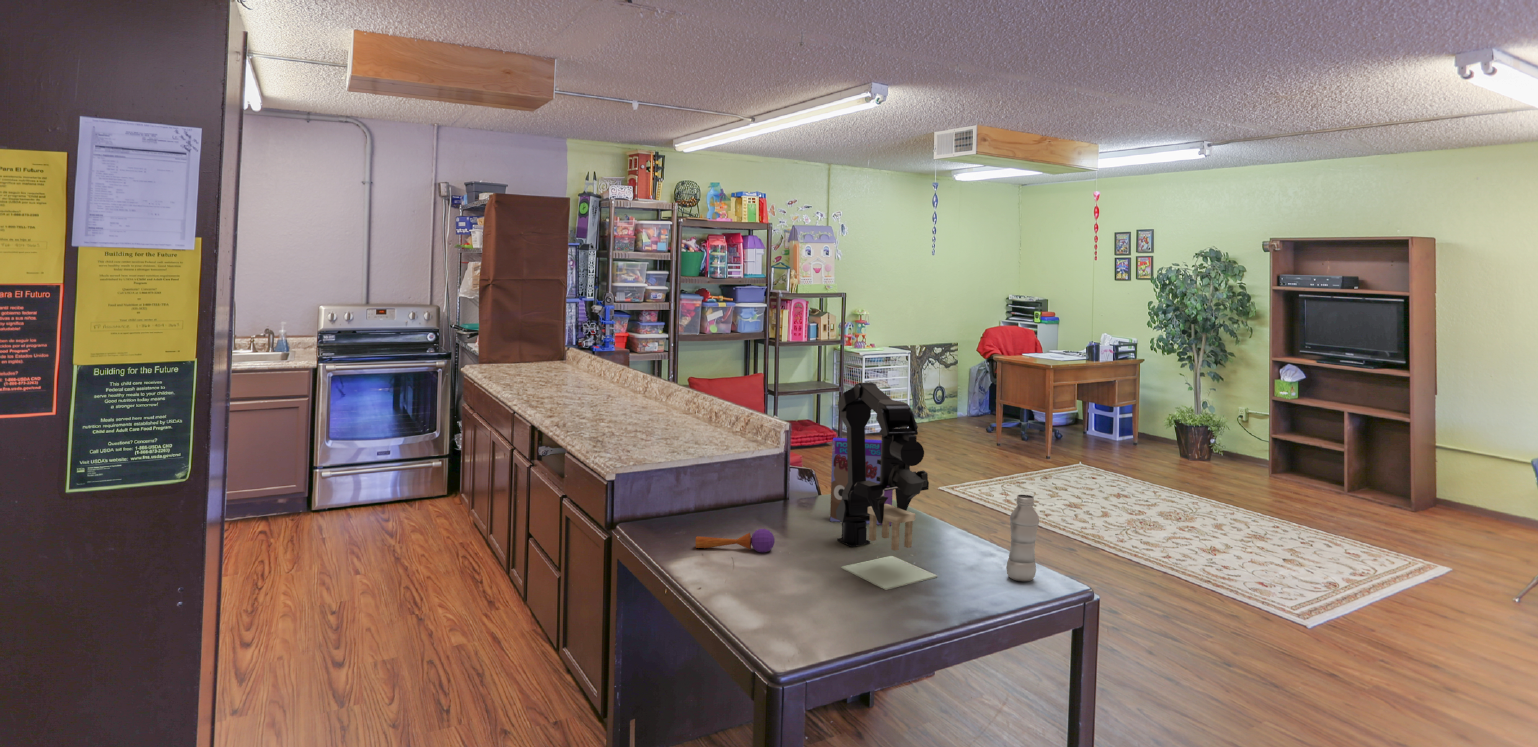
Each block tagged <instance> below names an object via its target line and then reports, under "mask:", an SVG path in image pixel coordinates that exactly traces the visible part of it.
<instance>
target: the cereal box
mask: <svg viewBox="0 0 1538 747" xmlns="http://www.w3.org/2000/svg"><path fill="white" fill-rule="evenodd" d="M881 441H882V439H866V438H865V456H866V481H867V480H869V481H872V482H875V483H878V484H879V483H880V482H879V481H876V479H877V476H880V467H881V465H880V464H877V459H881ZM847 483H848V461H847V437H833V439H832V444H831V481H830V510H829V513H830V514H829V522H830V523H840V522H841V521H840V520H838V519H837V516H836V509H837V507H838V506H839V504H840V502H841V500H842V492H843V490H844V489H845V487H846V485H847ZM887 487H888V486H887ZM893 494H894V493H893V490H888V491H884V496H885V497H888V499H887V500H886V502H885V503H884V504H889V505H892V506H893ZM866 525H869V526H870V521H866ZM877 526H882V524H880V523H878V521H877ZM889 527H892V522H889Z"/></svg>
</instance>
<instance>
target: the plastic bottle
mask: <svg viewBox="0 0 1538 747" xmlns="http://www.w3.org/2000/svg"><path fill="white" fill-rule="evenodd" d="M1034 499H1035V498H1034V496H1033V495H1031V494H1024V493H1023V494H1022V493H1021V494H1017V495H1016V501H1015V503H1016V505H1017V506H1016V507H1015V508H1014V509H1013V510H1012V511H1011V513H1010V515H1009V525H1010V547H1009V554H1008V559H1007V561H1006V568H1005V570H1006V575H1007V576H1008V577H1009V579H1011V580H1013V581H1017V582H1030V581H1032V580H1034V578H1035V577H1036V572H1037V565H1036V554H1035V553H1036V552H1035V551H1036V550H1035V549H1036V540H1037V533H1038V528H1039V524H1040V518H1039V515H1038V513H1037V511H1036V510H1035V508H1034V505H1035V500H1034Z"/></svg>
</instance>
